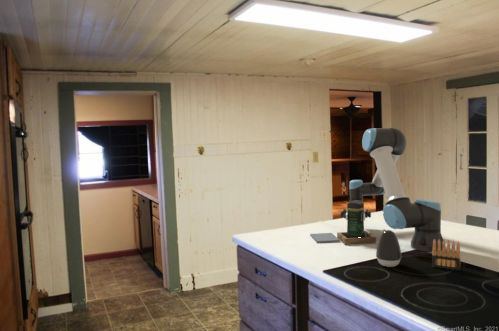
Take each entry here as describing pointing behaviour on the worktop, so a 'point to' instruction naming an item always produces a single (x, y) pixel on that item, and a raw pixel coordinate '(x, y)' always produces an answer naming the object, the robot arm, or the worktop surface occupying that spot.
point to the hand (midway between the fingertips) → (355, 217)
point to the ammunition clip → (446, 255)
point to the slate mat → (324, 237)
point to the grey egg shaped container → (388, 249)
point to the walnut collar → (356, 238)
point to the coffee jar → (355, 218)
